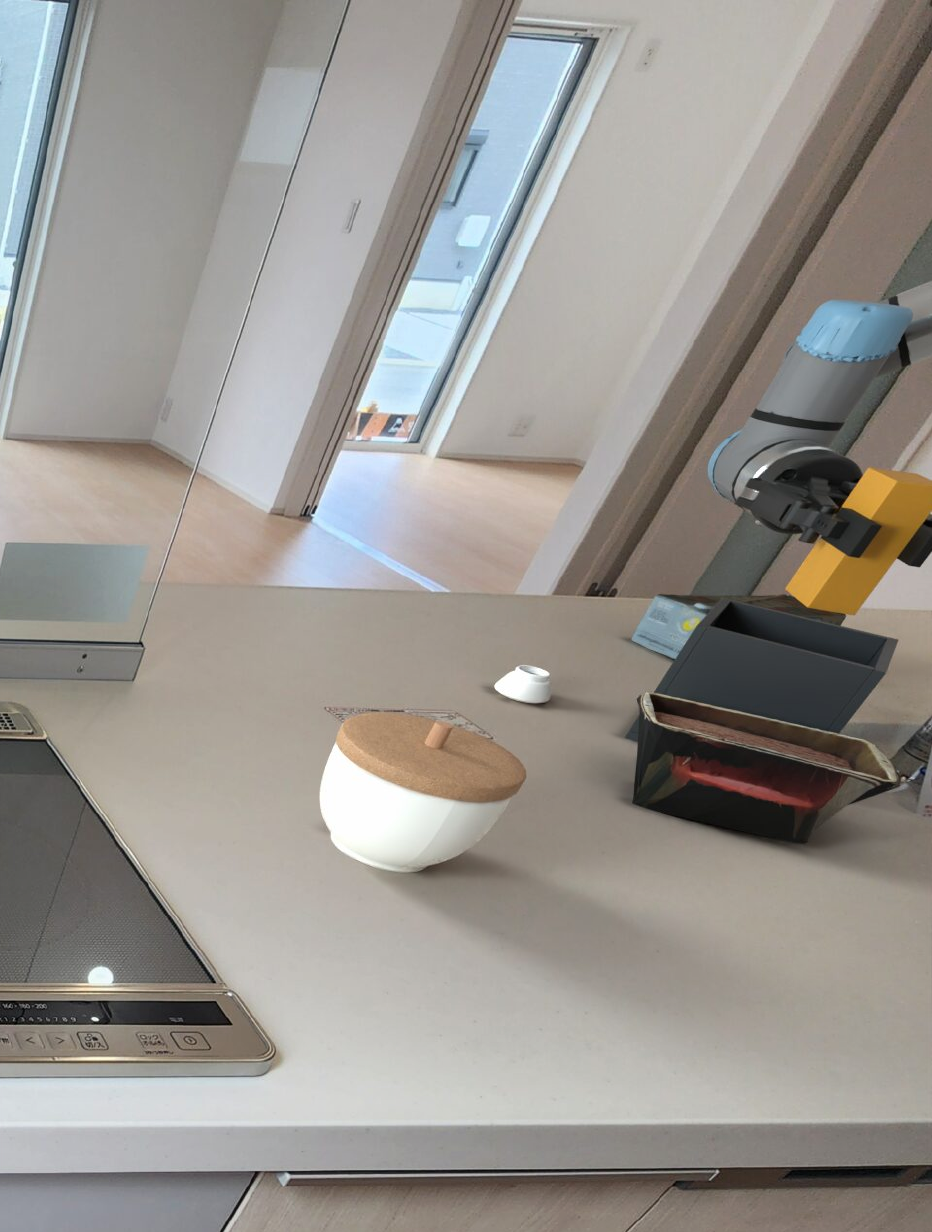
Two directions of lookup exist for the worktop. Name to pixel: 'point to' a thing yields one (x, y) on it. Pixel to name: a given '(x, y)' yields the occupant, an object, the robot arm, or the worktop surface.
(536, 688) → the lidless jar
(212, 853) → the worktop surface
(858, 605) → the block
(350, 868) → the worktop surface
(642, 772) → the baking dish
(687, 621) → the beverage carton
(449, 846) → the lidded bowl
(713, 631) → the bin
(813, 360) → the robot arm
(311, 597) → the worktop surface
